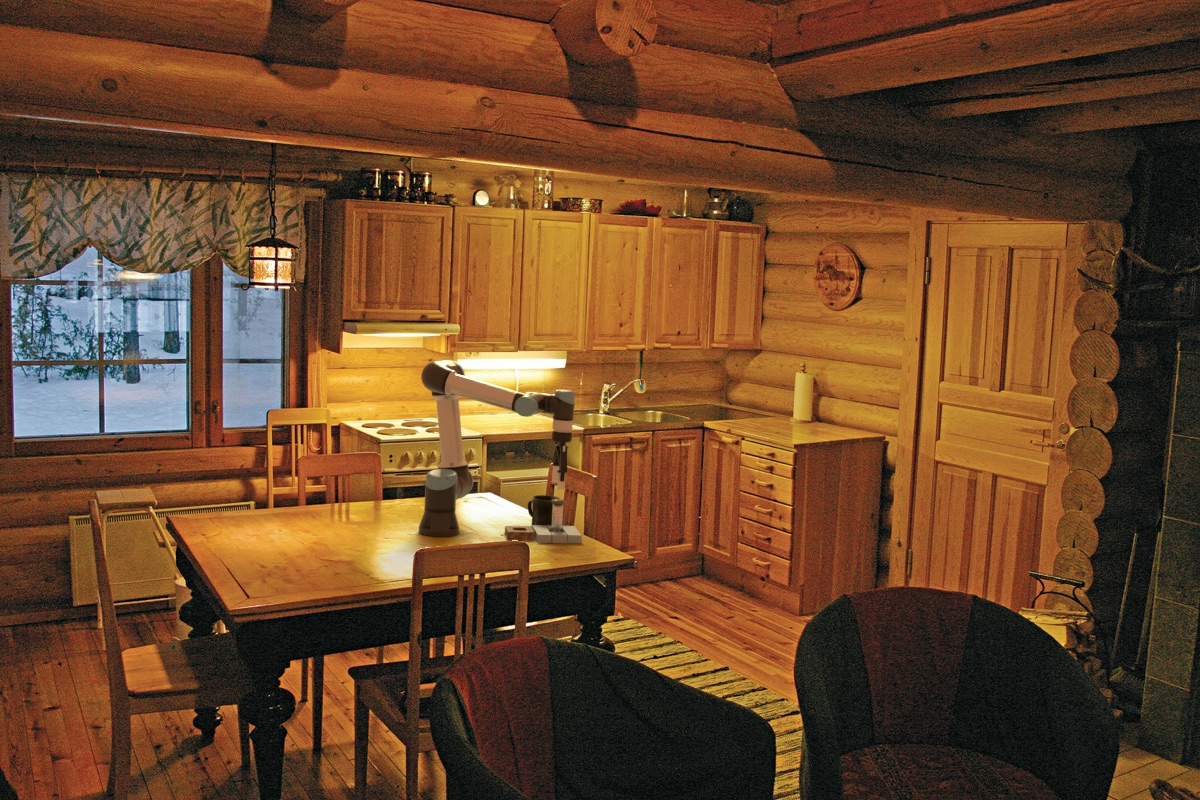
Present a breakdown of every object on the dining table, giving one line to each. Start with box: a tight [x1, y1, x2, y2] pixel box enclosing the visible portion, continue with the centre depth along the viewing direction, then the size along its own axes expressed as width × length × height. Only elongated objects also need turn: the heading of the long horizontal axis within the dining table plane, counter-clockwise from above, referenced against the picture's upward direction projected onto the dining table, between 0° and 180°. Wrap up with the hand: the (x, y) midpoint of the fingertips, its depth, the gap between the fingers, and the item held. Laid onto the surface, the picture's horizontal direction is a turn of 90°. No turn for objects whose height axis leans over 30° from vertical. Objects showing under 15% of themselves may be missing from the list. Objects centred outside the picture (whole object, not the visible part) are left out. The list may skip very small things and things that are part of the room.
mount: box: [504, 525, 535, 541], centre depth 405 cm, size 10×10×3 cm
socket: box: [531, 524, 582, 544], centre depth 407 cm, size 17×17×3 cm
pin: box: [551, 498, 566, 532], centre depth 406 cm, size 5×5×15 cm
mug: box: [527, 494, 561, 526], centre depth 424 cm, size 11×15×12 cm
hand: (558, 486), depth 405 cm, fingers open, 13 cm apart
